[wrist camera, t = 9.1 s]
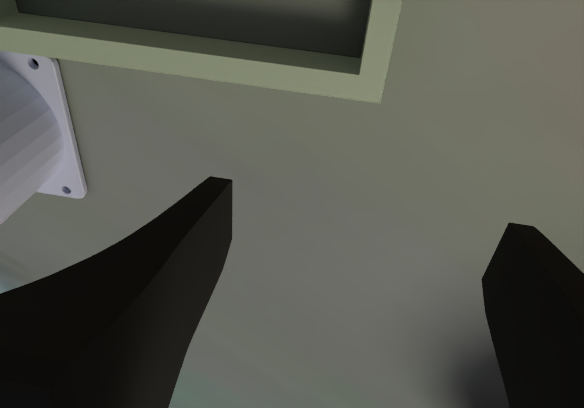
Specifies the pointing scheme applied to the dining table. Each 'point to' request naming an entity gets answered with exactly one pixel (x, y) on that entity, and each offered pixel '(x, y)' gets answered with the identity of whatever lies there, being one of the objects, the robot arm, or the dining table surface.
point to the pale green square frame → (211, 53)
